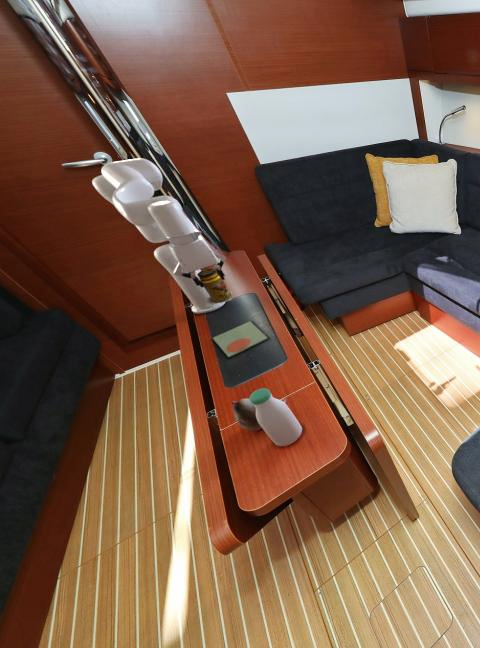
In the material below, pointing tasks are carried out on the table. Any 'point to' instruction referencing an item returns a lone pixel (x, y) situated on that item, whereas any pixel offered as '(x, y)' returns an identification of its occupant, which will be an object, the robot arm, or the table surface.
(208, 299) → the condiment
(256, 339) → the placemat
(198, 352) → the table surface
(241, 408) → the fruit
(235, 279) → the table surface
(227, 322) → the table surface
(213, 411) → the table surface
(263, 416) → the milk bottle
